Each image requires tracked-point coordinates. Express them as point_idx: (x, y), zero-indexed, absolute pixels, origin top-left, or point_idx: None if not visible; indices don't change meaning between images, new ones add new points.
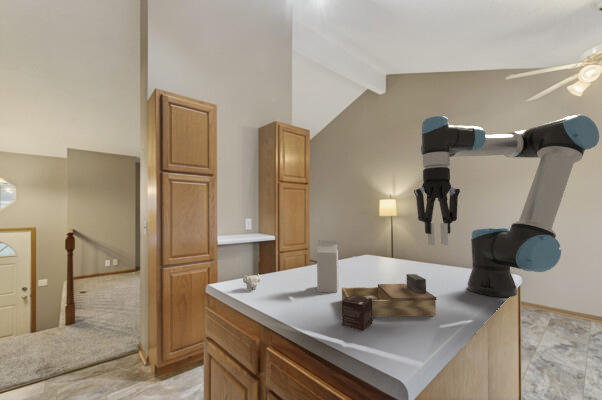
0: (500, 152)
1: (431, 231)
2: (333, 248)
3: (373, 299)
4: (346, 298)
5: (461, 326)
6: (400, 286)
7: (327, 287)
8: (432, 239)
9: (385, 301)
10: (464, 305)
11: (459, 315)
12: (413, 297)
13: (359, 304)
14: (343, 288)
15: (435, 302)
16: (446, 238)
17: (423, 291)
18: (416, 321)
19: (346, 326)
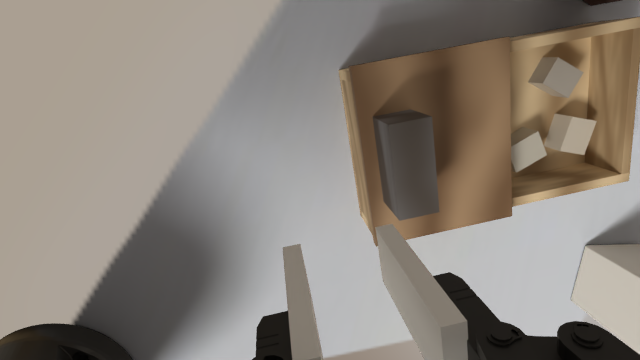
0: None
1: (431, 280)
2: None
3: (519, 139)
4: None
5: (281, 9)
6: (439, 196)
7: (630, 254)
8: (402, 243)
9: (523, 38)
10: (208, 212)
11: (255, 110)
12: (435, 51)
13: None
14: (625, 170)
15: (348, 71)
16: (296, 269)
17: (384, 115)
18: (404, 34)
19: None
